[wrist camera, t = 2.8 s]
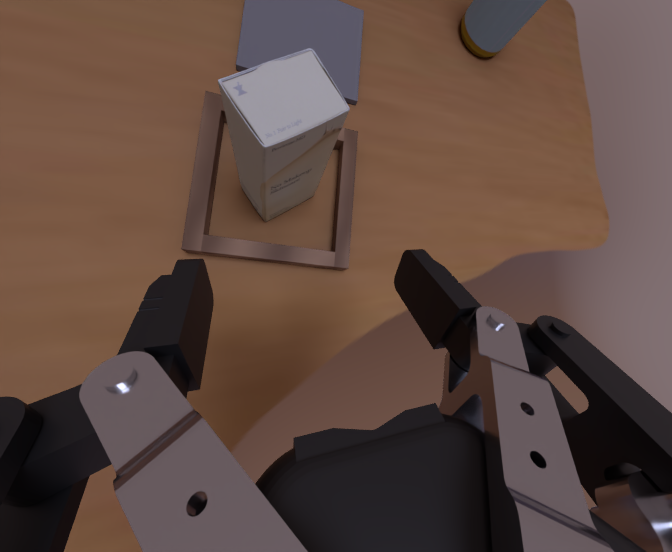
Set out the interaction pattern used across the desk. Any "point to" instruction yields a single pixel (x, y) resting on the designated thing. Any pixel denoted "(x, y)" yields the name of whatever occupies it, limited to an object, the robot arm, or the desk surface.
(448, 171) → the desk surface
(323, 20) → the charcoal mat
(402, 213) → the desk surface
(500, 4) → the bottle
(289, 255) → the frame
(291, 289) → the desk surface
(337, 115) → the skincare box
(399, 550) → the robot arm
